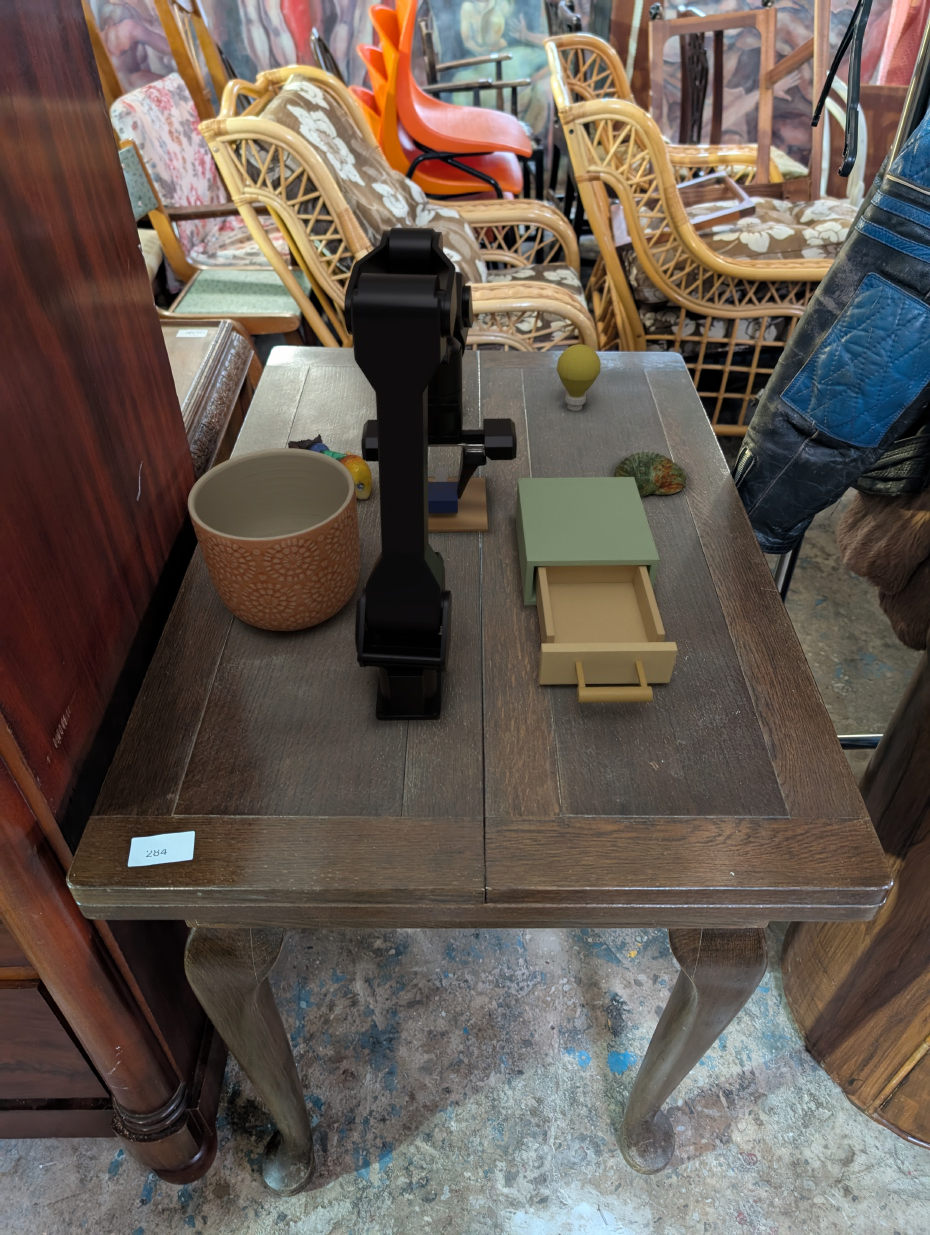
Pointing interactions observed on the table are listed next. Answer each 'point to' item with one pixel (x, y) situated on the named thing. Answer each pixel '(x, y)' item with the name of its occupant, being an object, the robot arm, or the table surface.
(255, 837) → the table surface
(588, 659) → the drawer
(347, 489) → the planter
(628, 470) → the seashell
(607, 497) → the cabinet
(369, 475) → the figurine
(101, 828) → the table surface
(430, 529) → the mat
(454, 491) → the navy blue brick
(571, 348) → the light bulb
